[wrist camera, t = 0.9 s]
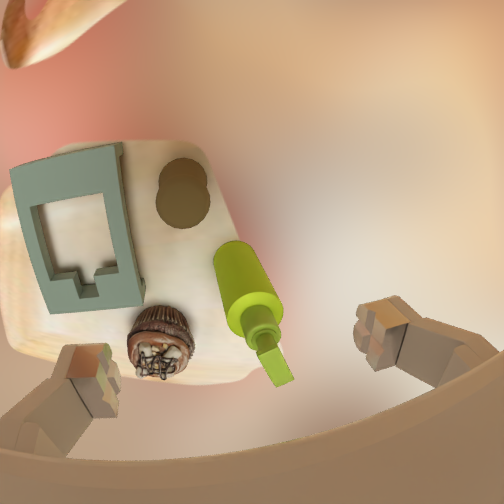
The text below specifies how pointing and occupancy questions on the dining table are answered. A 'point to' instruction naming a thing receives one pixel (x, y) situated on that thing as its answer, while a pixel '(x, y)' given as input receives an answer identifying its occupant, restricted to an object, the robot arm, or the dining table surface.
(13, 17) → the dining table surface
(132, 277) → the grey-green slotted stand
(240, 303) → the soap dispenser
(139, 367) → the cupcake
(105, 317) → the dining table surface
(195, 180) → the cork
